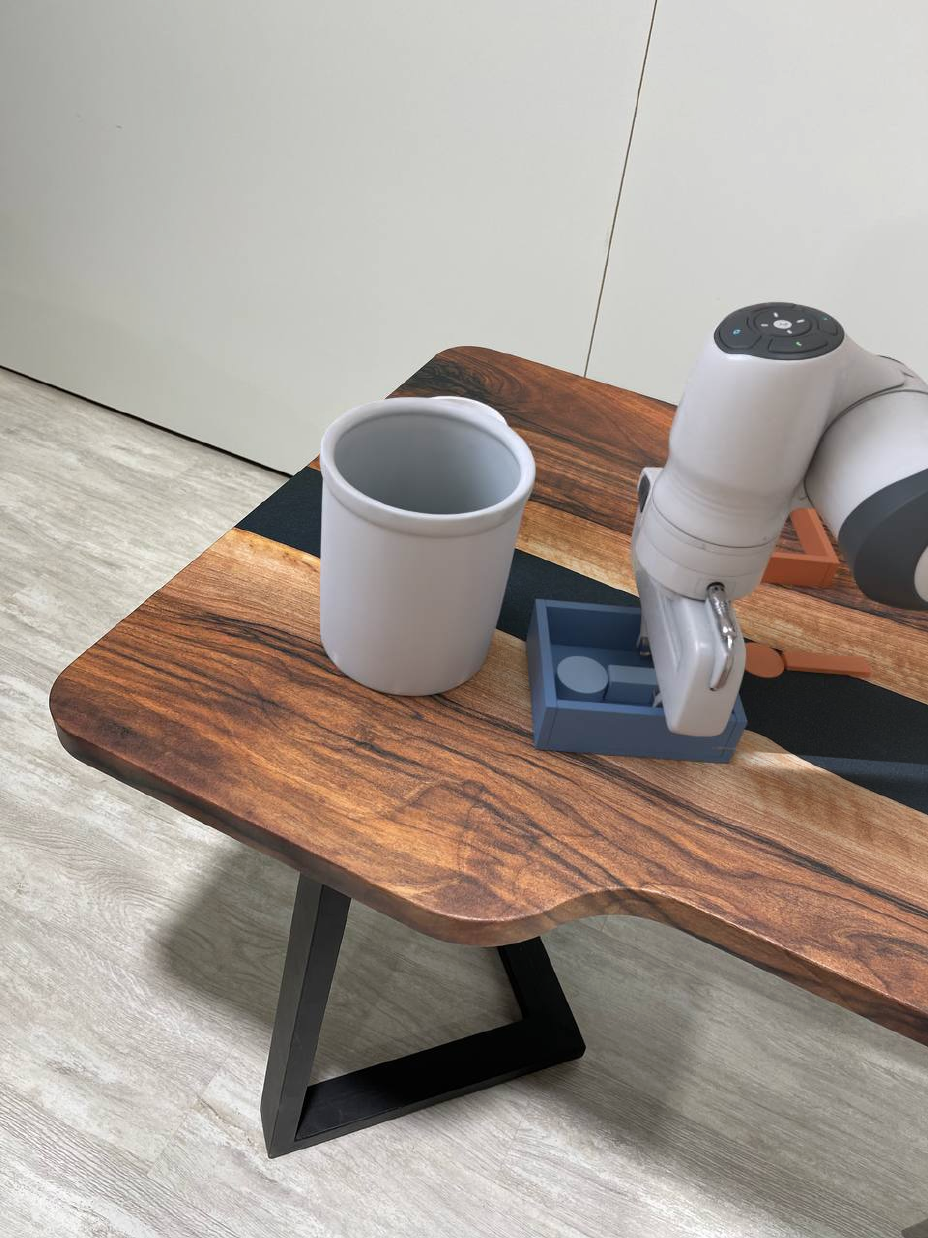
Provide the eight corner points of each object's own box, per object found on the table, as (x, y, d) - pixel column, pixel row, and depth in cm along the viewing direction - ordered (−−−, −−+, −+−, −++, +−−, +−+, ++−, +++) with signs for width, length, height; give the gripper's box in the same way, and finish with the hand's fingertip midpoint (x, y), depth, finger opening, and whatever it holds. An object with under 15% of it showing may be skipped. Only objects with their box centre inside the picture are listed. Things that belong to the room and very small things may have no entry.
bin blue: (699, 655, 84) (715, 614, 81) (728, 764, 75) (747, 722, 72) (525, 640, 83) (535, 598, 79) (534, 749, 74) (546, 706, 71)
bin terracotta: (788, 525, 100) (805, 487, 97) (821, 602, 91) (840, 563, 88) (644, 511, 99) (656, 472, 96) (664, 588, 90) (677, 547, 87)
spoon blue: (686, 681, 80) (694, 661, 79) (695, 718, 78) (704, 699, 76) (550, 670, 79) (555, 649, 78) (554, 707, 76) (560, 686, 75)
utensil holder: (517, 699, 77) (561, 514, 66) (322, 711, 74) (332, 517, 62) (477, 575, 88) (509, 397, 76) (304, 580, 85) (310, 394, 73)
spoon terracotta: (850, 666, 85) (860, 648, 84) (865, 701, 82) (876, 682, 81) (724, 656, 84) (732, 636, 83) (734, 690, 81) (743, 671, 80)
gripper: (788, 651, 61) (720, 794, 70) (719, 464, 76) (671, 602, 86) (686, 642, 61) (632, 788, 70) (638, 455, 76) (598, 595, 85)
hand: (653, 684), depth 78 cm, fingers open, 5 cm apart
